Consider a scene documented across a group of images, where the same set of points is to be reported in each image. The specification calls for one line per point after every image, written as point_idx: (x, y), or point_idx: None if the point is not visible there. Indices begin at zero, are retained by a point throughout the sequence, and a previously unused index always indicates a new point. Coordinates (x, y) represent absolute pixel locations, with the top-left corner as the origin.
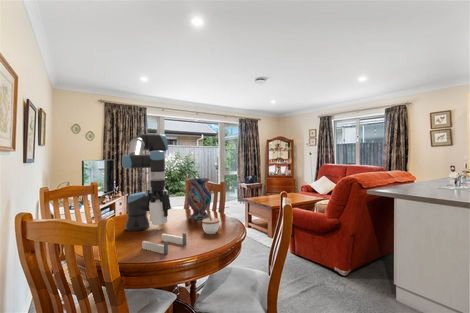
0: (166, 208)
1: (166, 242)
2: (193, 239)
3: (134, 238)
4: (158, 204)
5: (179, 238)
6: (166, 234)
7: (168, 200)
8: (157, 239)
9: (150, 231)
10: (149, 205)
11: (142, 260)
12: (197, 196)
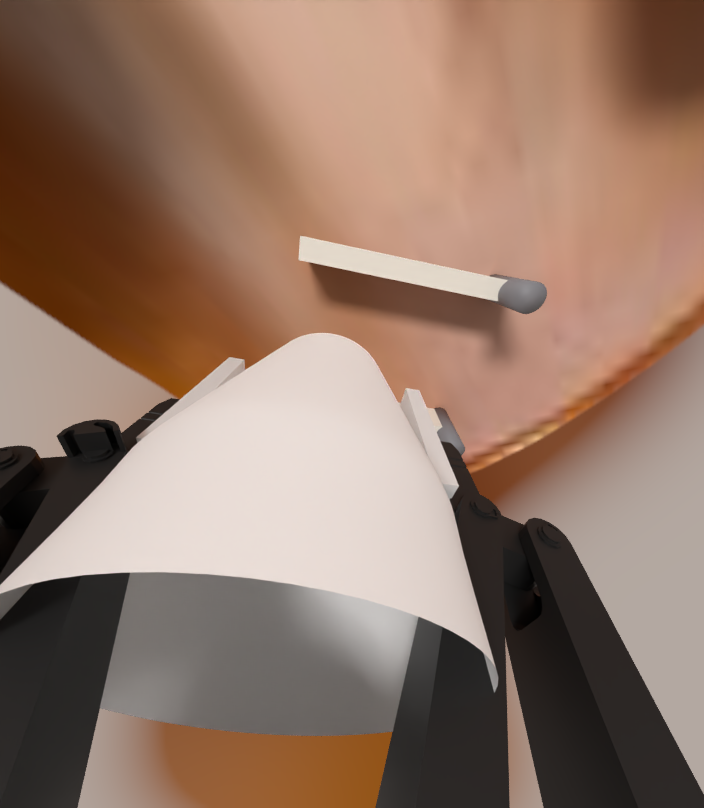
0: (509, 586)
1: (459, 452)
2: (535, 152)
3: (109, 275)
4: (385, 676)
5: (469, 295)
6: (337, 253)
7: (659, 789)
8: (263, 246)
9: (6, 24)
10: (201, 629)
11: None
12: None
